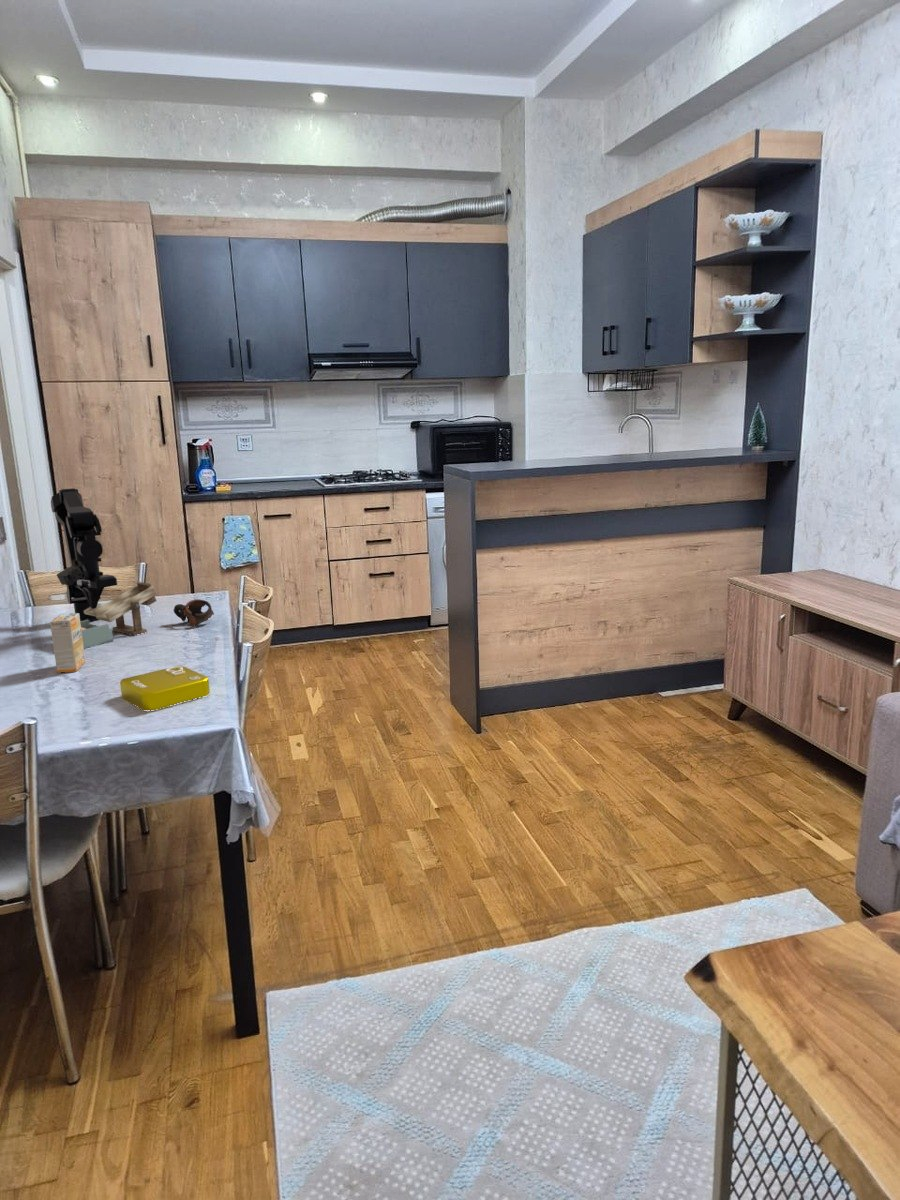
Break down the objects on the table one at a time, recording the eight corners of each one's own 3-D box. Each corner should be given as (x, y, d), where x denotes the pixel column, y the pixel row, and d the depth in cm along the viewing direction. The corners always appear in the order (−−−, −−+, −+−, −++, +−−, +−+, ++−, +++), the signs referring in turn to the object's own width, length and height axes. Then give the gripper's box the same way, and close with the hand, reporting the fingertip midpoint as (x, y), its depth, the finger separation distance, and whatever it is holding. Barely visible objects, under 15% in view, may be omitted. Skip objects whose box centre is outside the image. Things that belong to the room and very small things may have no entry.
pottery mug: (216, 619, 245) (217, 599, 239) (207, 640, 237) (208, 620, 232) (177, 611, 243) (177, 591, 238) (167, 632, 236) (167, 611, 231)
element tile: (119, 698, 176) (116, 677, 175) (183, 681, 186) (181, 662, 185) (147, 714, 165) (144, 693, 164) (213, 696, 175) (211, 675, 174)
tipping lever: (129, 594, 242) (122, 579, 240) (159, 600, 234) (151, 584, 231) (84, 621, 232) (76, 605, 229) (113, 628, 223) (105, 611, 221)
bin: (56, 645, 219) (53, 627, 218) (92, 636, 228) (90, 619, 226) (77, 650, 213) (74, 632, 212) (113, 641, 221) (111, 623, 220)
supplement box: (77, 672, 195) (70, 620, 192) (56, 673, 194) (49, 621, 191) (86, 662, 203) (79, 612, 200) (66, 663, 202) (59, 613, 199)
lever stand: (125, 627, 236) (121, 596, 234) (146, 632, 229) (143, 600, 227) (112, 630, 233) (108, 599, 231) (134, 635, 226) (130, 603, 224)
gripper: (41, 557, 226) (49, 610, 230) (77, 562, 216) (84, 618, 219) (79, 551, 235) (86, 602, 239) (114, 556, 224) (121, 609, 228)
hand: (93, 608), depth 231 cm, fingers closed, pressing on tipping lever
